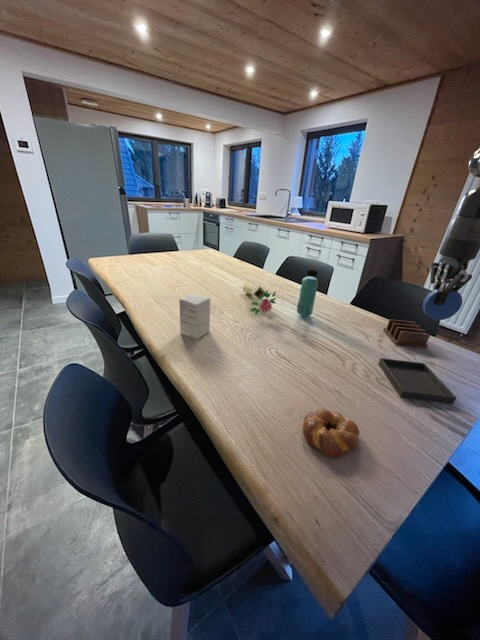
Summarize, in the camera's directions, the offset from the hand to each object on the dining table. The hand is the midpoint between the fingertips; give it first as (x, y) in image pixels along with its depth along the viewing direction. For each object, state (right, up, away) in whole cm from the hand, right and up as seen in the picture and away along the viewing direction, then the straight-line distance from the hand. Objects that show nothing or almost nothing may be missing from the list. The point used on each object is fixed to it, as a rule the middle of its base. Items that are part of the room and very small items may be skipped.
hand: (435, 302), depth 72 cm
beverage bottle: (-27, -3, +38) cm, 47 cm away
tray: (-5, -22, +3) cm, 23 cm away
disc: (+2, 0, 0) cm, 2 cm away
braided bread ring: (-35, -29, -16) cm, 48 cm away
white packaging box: (-69, -9, +19) cm, 72 cm away
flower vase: (-46, +1, +44) cm, 64 cm away
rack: (+8, -12, +27) cm, 30 cm away
